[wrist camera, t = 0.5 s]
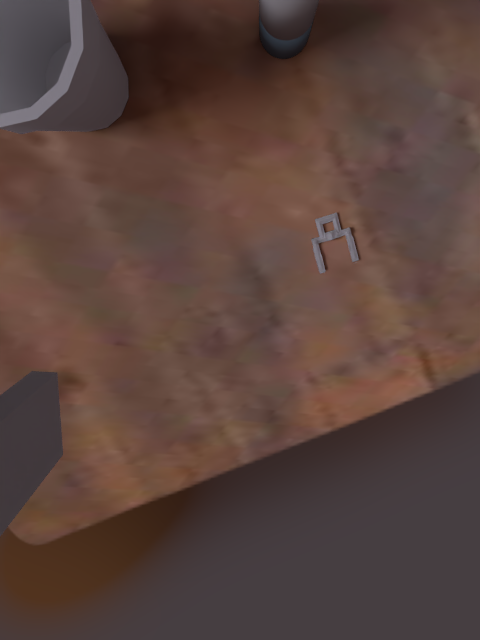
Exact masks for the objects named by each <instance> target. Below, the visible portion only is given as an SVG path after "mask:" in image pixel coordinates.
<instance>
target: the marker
mask: <svg viewBox="0 0 480 640" xmlns="http://www.w3.org/2000/svg"><path fill="white" fill-rule="evenodd" d="M318 3H319V0H259V35H260V40H261V43H262V45H263V47H264V49H265V50H266V51H267V52H268V53H269V54H270V55H272V56H273V57H276V58H279V59H288V58H291V57H294V56H296V55H297V54H298V53H300V52H301V51H302V49H303V48H304V47H305V45H306V43H307V41H308V38H309V34H310V31H311V27H312V24H313V20H314V17H315V13H316V10H317V6H318Z"/></svg>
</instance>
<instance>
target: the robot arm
mask: <svg viewBox="0 0 480 640" xmlns="http://www.w3.org/2000/svg"><path fill="white" fill-rule="evenodd" d="M62 455H63V447H62V433H61V419H60V405H59V391H58V377H57V373H55V372H37V371H32V372H30V373H29V374H28V375H26V376H25V377H24V378H23V379H21V380H20V381H19V382H17V383H16V384H15V385H13V386H12V387H11V388H9V389H8V390H7V391H6V392H4V393H3V394H2V395H0V536H1V534H2V533H3V532H4V531H5V529H6V528H7V527H8V525H9V524H10V523H11V522H12V520H13V519H14V518H15V516H16V515H17V514H18V512H19V511H20V510H21V509H22V507H23V506H24V505H25V503H26V502H27V501H28V499H29V498H30V497H31V495H32V494H33V493H34V492H35V490H36V489H37V488H38V486H39V485H40V484H41V482H42V481H43V480H44V479H45V477H46V476H47V475H48V473H49V472H50V471H51V469H52V468H53V467H54V466H55V464H56V463H57V462H58V460H59V459H60V458H61V456H62Z"/></svg>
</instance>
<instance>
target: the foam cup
mask: <svg viewBox="0 0 480 640" xmlns="http://www.w3.org/2000/svg"><path fill="white" fill-rule="evenodd" d="M128 98H129V95H128V76H127V74H126V72H125V69H124V67H123V65H122V63H121V61H120V58H119V56H118V54H117V52H116V51H115V49H114V47H113V45H112V43H111V41H110V39H109V38H108V36H107V34H106V32H105V30H104V28H103V27H102V25H101V23H100V21H99V19H98V16H97V13H96V11H95V9H94V7H93V5H92V3H91V0H0V129H4V130H8V131H11V132H15V133H19V134H25V133H29V132H33V131H80V132H88V131H94V130H99V129H103V128H107V127H109V126H110V125H111V124H112V123H113V122H114V121H116V120H117V119H118V118H119V117H120V116H121V115H122V112H123V110H124V108H125V105H126V103H127V100H128Z"/></svg>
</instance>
